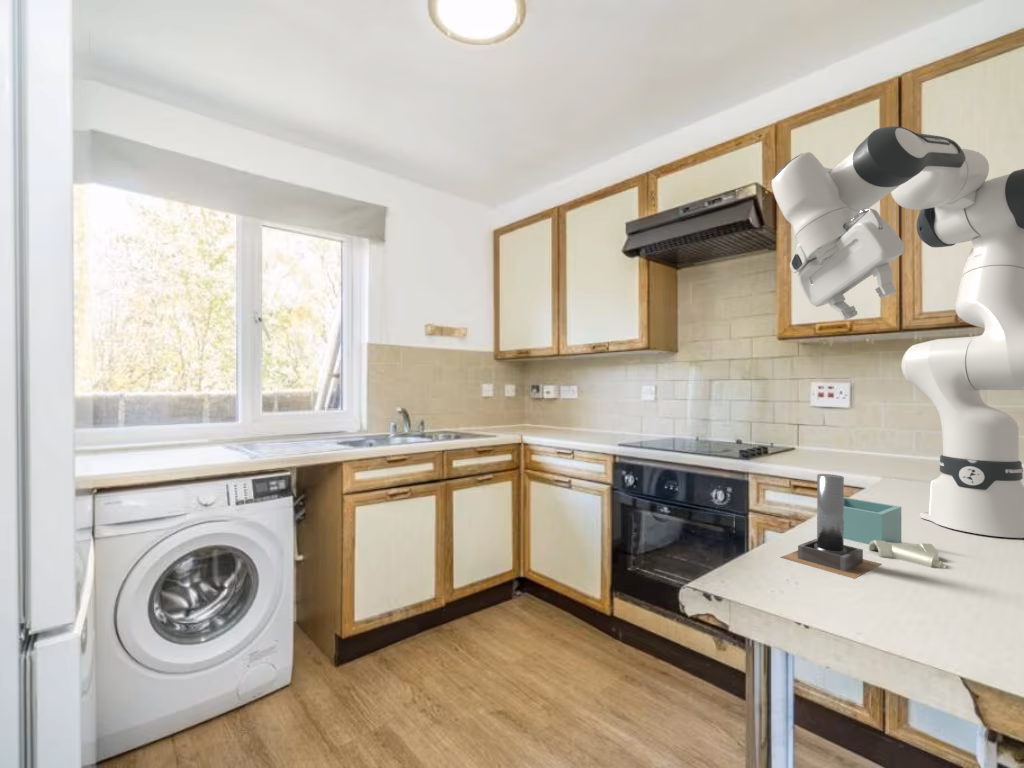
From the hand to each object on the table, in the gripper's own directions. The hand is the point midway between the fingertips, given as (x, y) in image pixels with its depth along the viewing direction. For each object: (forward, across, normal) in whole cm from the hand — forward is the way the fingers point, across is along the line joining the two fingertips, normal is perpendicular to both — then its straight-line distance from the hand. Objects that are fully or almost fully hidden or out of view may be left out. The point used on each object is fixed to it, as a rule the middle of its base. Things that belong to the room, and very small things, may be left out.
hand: (869, 307), depth 81 cm
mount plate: (+36, +2, +24) cm, 44 cm away
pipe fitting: (+41, +4, +12) cm, 43 cm away
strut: (+35, +2, +24) cm, 42 cm away
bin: (+38, +16, +10) cm, 42 cm away
